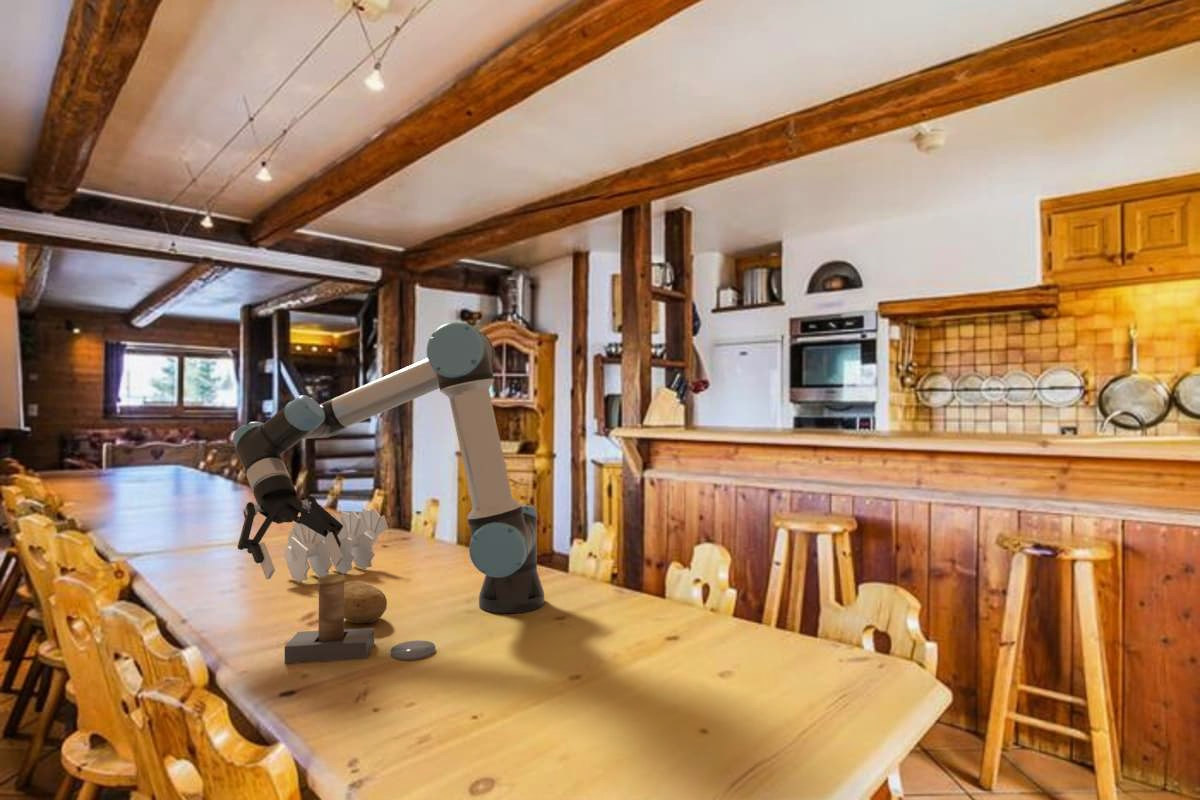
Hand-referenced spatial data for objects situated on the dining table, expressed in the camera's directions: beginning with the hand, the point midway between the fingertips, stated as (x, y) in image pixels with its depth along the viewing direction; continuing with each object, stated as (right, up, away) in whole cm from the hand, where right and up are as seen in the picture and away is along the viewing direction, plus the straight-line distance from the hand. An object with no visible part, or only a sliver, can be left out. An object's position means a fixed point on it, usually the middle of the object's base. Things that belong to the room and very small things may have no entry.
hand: (306, 568), depth 127 cm
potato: (+6, -15, +13) cm, 21 cm away
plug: (+7, -14, -5) cm, 17 cm away
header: (+7, -14, -5) cm, 17 cm away
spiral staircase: (-17, -16, +53) cm, 57 cm away
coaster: (+22, -14, -5) cm, 27 cm away
